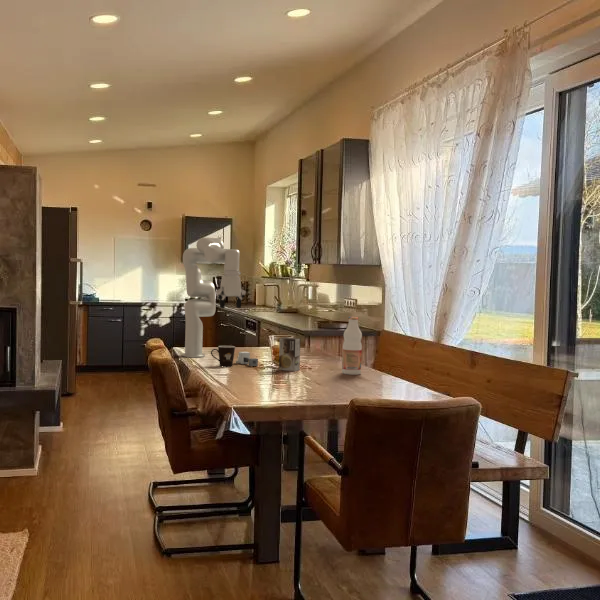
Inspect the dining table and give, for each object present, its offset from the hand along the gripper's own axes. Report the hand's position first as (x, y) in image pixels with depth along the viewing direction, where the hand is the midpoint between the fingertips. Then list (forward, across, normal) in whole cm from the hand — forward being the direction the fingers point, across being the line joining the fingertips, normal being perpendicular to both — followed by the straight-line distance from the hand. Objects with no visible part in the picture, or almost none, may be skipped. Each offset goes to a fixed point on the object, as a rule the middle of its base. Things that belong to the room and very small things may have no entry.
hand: (230, 307), depth 364 cm
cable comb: (+30, -14, -10) cm, 34 cm away
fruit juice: (+30, -43, +44) cm, 69 cm away
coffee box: (+30, -22, +22) cm, 43 cm away
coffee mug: (+30, +1, -4) cm, 30 cm away
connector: (+30, -12, +4) cm, 33 cm away
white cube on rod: (+30, -14, -7) cm, 34 cm away
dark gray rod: (+30, -13, -3) cm, 33 cm away
